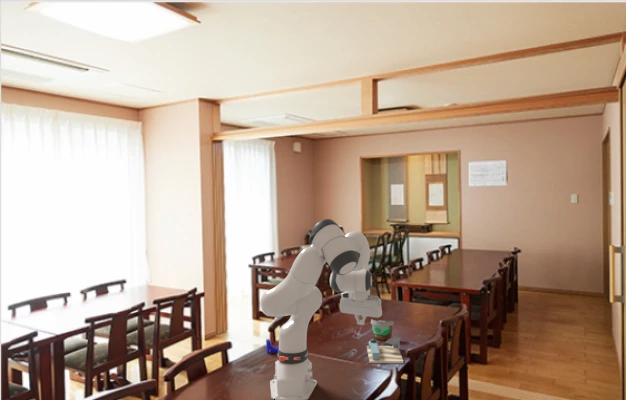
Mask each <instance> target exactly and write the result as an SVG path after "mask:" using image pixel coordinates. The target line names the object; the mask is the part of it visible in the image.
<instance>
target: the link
mask: <svg viewBox="0 0 626 400" xmlns="http://www.w3.org/2000/svg"><path fill="white" fill-rule="evenodd" d="M368 346H369V349H371V353H372V358H373V360H380V357H379V349H378V346H379V341H377V340H376V342H371V341H370V340H369V341H368Z"/></svg>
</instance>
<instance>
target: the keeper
mask: <svg viewBox="0 0 626 400" xmlns="http://www.w3.org/2000/svg"><path fill="white" fill-rule="evenodd" d="M383 342H384V343H383V346H391V347H392V346H393V348H399V350H401V343H400V342H401V337H400V336H392V337H391V338H390V339H389V340H387V341H383Z"/></svg>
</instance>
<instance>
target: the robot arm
mask: <svg viewBox="0 0 626 400" xmlns="http://www.w3.org/2000/svg"><path fill="white" fill-rule="evenodd" d="M308 243H309V245H310V246H307V247H304V248H303V249H302V250H301V251H300V252H299V253H298V255H297V256H296V258H295V259H294V261H293V263H292V265H291V268H290V269H289V270H288V273H287V276H286V277H285V278H284V279H283V280H282V281H281V282H279V283H278V284H277V285H276V286H274V287H273V288H271V289H269V290H267V291H265V292H263V294H262V295H261V298H260V303H259V304H260V309H261V311H262V312H263V314H264V315H266V316H267V317H274V318H275V317H277V318H278V317H286V316H290V318H289V319H288V320H287V321H286V322H285V323H283V324H282V325H281V327H280V328H279V331H278V346H279V349H278V352H277V360H276V361H275V362H274V365H275V366H274V369H275V370H274V371H275V372H274V373H275V374H273V379H271V380H270V381H269V387H270V398H271V399H272V400H274V399H275V400H308V399H309V398H310V397H311V395H312V393H313V391H314V390H315V387H316V386H317V384H318V381H317V380H316V379H313V363H312V362H311V360H309V357H308V356H309V354H308V353H309V351H308V347H307V333H308V326H309V325H310V324H309V323H310V322H311V319H312V317H313V315H314V314H315V313H316V312H317V310H319V309H320V308H321V306H322V303H323V295H322V292H321V290H320V289H319V287H317V286H316V285H317V283H318V280H319V278H320V277H321V274H322V272H323V268H324V265H326V263H327V264H328V265H329V268H330V270H331V273H330V276H329V287H330V288H331V289H332V290H333V291H334V292H335V293H340V296H341V297H340V300H339V311H340V312H341V313H342V314H343V313H344V314H347V315H348V314H349V315H354V318H355V319H356V320H355V321H356V324H357V325H360V326H364V325H365V321H366V319H367V317H370V318H377V319H378V318H381V316H382V315H383V310H382V299H381V298H380V297H379V296H378V295H377V296H375V295H371V288H372V287H373V274H372V272H370V266H369V262H370V258H371V250H370V249H371V248H370V244H369V241H368V238H367V237H366V235H364V233H362V232H360V231H358V230H353V231H349V232H348V233H346V234H345V233H344V231H343V230H342V229H341V228H340V227H339V224H338V223H337V222H336V221H334V220H333V219H331V218H325V219H321V220H320V221H318V222H317V223H316V224H314V227H313V228H312V230H311V233H310V236H309V238H308ZM360 316H361V318H362V319H360Z"/></svg>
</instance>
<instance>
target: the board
mask: <svg viewBox="0 0 626 400" xmlns="http://www.w3.org/2000/svg"><path fill="white" fill-rule="evenodd" d="M369 341H371V342H376V341H377V340H376V339H374V337H372V338H370V340H369ZM378 349H379V357H380V360H373V358H372V353H371V349H369V345H366V351H367V356H368V361H369V364H404V359H403V356H402V354H401V352H400V349H399V348H393V346H392V347H391V346H386V345H378Z"/></svg>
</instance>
